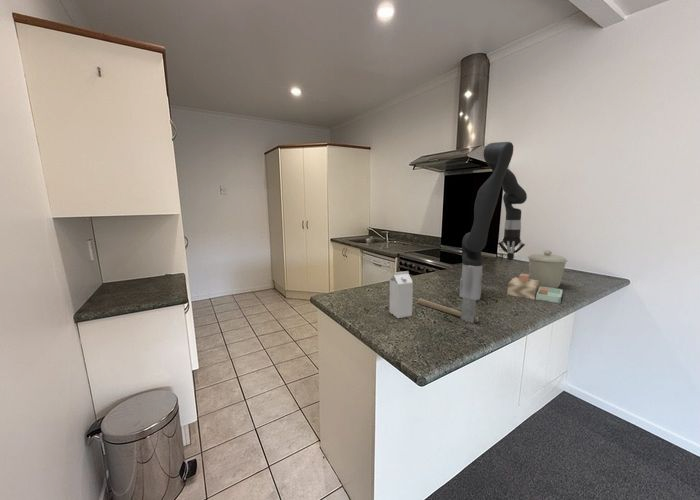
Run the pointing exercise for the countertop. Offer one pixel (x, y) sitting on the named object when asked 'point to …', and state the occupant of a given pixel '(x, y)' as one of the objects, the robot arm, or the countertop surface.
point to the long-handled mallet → (466, 313)
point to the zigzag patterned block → (523, 288)
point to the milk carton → (401, 294)
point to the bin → (550, 295)
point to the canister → (547, 269)
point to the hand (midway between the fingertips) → (510, 259)
